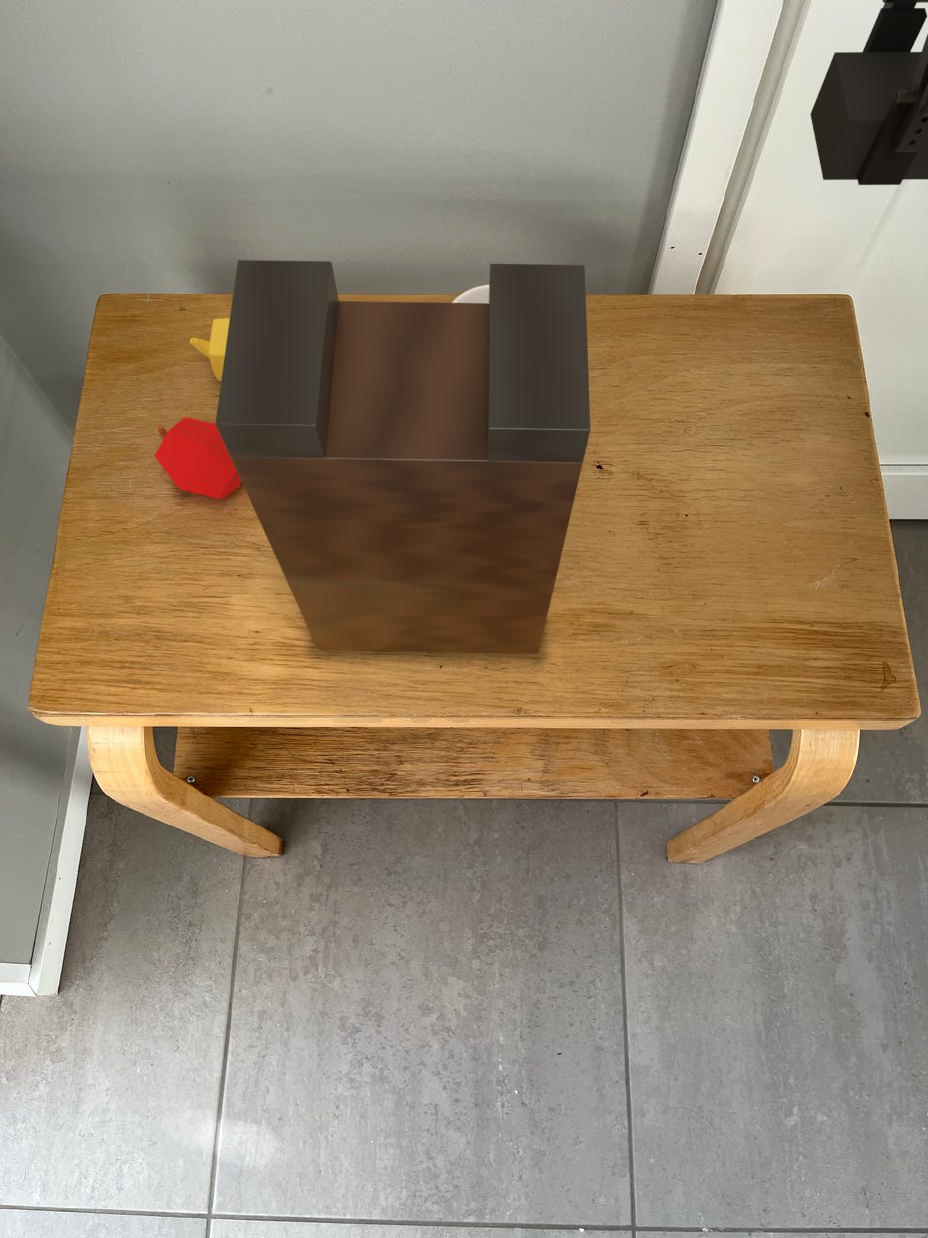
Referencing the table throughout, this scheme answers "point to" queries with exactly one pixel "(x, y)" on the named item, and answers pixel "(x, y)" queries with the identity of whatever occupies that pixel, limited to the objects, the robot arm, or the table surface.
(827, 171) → the pad
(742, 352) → the table surface
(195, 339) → the teapot
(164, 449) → the apple
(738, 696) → the table surface
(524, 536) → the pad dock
